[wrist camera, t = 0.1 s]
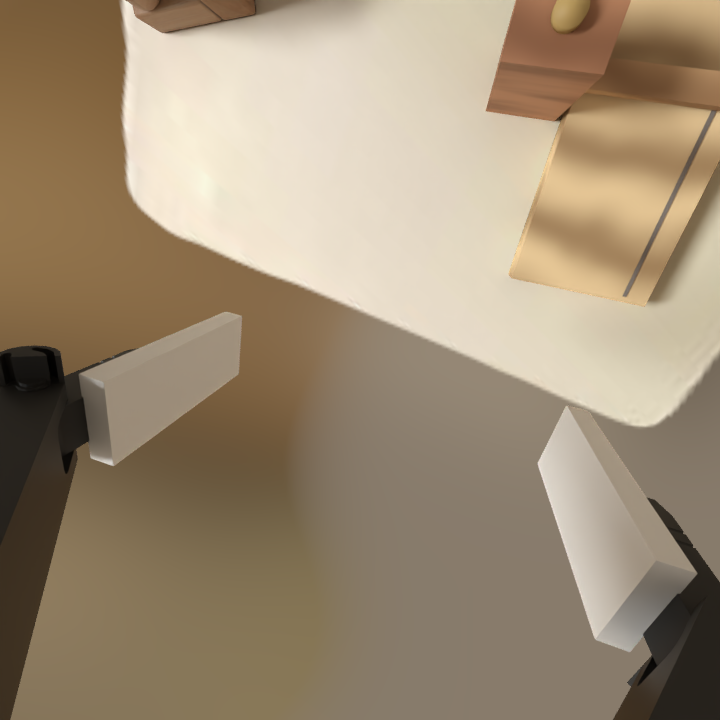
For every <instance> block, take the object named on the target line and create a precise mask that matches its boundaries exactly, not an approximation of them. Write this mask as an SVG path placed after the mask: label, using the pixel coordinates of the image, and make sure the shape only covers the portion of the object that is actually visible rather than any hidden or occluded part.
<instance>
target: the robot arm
mask: <svg viewBox="0 0 720 720" xmlns="http://www.w3.org/2000/svg"><path fill="white" fill-rule="evenodd" d="M241 324H242V316H239V315H236V314H232V313H229V312H223V313H221V314H219V315H216V316H214V317H212V318H209V319H207V320H205V321H202V322H200V323H198V324H195V325H193V326H191V327H188V328H186V329H183V330H181V331H179V332H177V333H174V334H172V335H169V336H167V337H165V338H162V339H160V340H158V341H155V342H153V343H150V344H149V345H146V346H143V347H141V348H137V349H132V350H127V351H124V352H122V353H119V354H117V355H115V356H112V358H107V359H105V360H102V361H101V363H96V364H93V365H90V366H88V367H86V368H83V369H81V370H78V371H76V372H74V373H71V374H69V375H66V376H64V372H63V366H62V360H61V353H60V351H58V350H57V349H55V348H51V347H47V346H22V347H16V348H11V349H7V350H5V351H2V352H0V720H10V718H11V715H12V711H13V707H14V703H15V699H16V695H17V691H18V687H19V684H20V679H21V676H22V672H23V668H24V664H25V660H26V657H27V653H28V649H29V645H30V641H31V637H32V633H33V629H34V626H35V622H36V618H37V614H38V610H39V606H40V602H41V598H42V595H43V591H44V586H45V583H46V579H47V575H48V572H49V568H50V564H51V560H52V556H53V552H54V548H55V544H56V540H57V536H58V533H59V529H60V525H61V521H62V517H63V514H64V510H65V506H66V502H67V498H68V494H69V490H70V487H71V483H72V479H73V474H74V471H75V467H76V463H77V451H76V449H77V448H78V447H80V446H81V445H83V444H85V443H86V442H88V443H89V449H90V456H91V458H92V459H95V460H98V461H101V462H103V463H106V464H109V465H112V466H114V465H116V464H117V463H118V462H120V461H121V460H122V459H124V458H125V457H127V456H128V455H129V454H131V453H132V452H133V451H135V450H136V449H137V448H139V447H140V446H142V445H143V444H144V443H146V442H147V441H148V440H150V439H151V438H152V437H154V436H155V435H156V434H158V433H159V432H160V431H162V430H163V429H164V428H166V427H167V426H169V425H170V424H171V423H173V422H174V421H175V420H177V419H178V418H179V417H181V416H182V415H184V414H185V413H186V412H188V411H189V410H190V409H192V408H193V407H194V406H196V405H197V404H199V403H200V402H201V401H202V400H204V399H205V398H207V397H208V396H209V395H211V394H212V393H213V392H215V391H216V390H218V389H219V388H220V387H222V386H223V385H224V384H225V383H227V382H228V381H230V380H231V379H232V378H234V377H235V376H237V375H238V374H239V359H240V342H241ZM538 466H539V469H540V473H541V476H542V479H543V482H544V485H545V488H546V491H547V494H548V497H549V500H550V503H551V506H552V509H553V512H554V515H555V518H556V521H557V524H558V528H559V531H560V534H561V537H562V540H563V543H564V546H565V549H566V552H567V555H568V558H569V561H570V564H571V568H572V571H573V574H574V577H575V579H576V583H577V585H578V589H579V592H580V595H581V598H582V601H583V604H584V607H585V610H586V613H587V617H588V620H589V622H590V626H591V629H592V632H593V635H594V638H595V640H598V641H600V642H603V643H606V644H609V645H612V646H614V647H617V648H620V649H623V650H625V651H628V652H630V651H631V650H632V649H633V648H634V647H635V646H636V644H637V643H638V642H639V641H640V639H642V637H643V636H644V638H645V640H646V642H647V645H648V647H649V649H650V651H651V653H652V656H651V657H650V658H649V659H648V660H647V661H646V662H645V663H644V665H643V666H642V667H641V668H640V669H639V670H638V671H637V673H636V674H635V675H634V676H633V677H632V678H631V679H630V680H629V681H628V682H627V683H628V684H629V685H630V686H631V688H630V690H629V692H628V694H627V695H626V697H625V699H624V701H623V703H622V704H621V707H620V708H619V710H618V712H617V713H616V715H615V717H614V719H613V720H720V582H719V581H718V579H717V578H716V576H715V575H714V574H713V572H712V571H711V569H710V568H709V567H708V565H707V564H706V562H705V561H704V560H703V558H702V557H701V555H700V554H699V553H698V551H697V550H696V548H693V544H692V543H691V541H690V540H689V539H688V537H687V536H686V535H685V534H683V530H682V529H681V527H680V526H679V525H678V523H677V522H676V521H675V519H674V518H673V516H672V515H671V514H670V513H669V512H667V511H666V510H665V509H664V508H663V507H662V506H661V505H660V504H659V503H658V502H656V501H655V500H653V499H650V498H647V497H646V496H645V495H644V493H643V492H642V490H641V489H640V487H639V486H638V484H637V483H636V481H635V480H634V478H633V477H632V475H631V474H630V472H629V471H628V470H627V468H626V466H625V465H624V463H623V462H622V460H621V459H620V457H619V456H618V454H617V453H616V451H615V450H614V448H613V447H612V445H611V444H610V443H609V441H608V439H607V438H606V437H605V435H604V434H603V432H602V431H601V429H600V428H599V426H598V425H597V423H596V422H595V420H594V419H593V417H592V416H591V414H590V413H589V411H586V410H583V409H579V408H575V407H572V406H568V405H567V406H566V407H565V409H564V411H563V414H562V415H561V418H560V419H559V421H558V424H557V426H556V427H555V429H554V432H553V434H552V436H551V438H550V440H549V442H548V444H547V446H546V448H545V450H544V452H543V454H542V456H541V458H540V460H539V462H538Z"/></svg>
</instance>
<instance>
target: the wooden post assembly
mask: <svg viewBox="0 0 720 720" xmlns="http://www.w3.org/2000/svg"><path fill="white" fill-rule="evenodd" d="M126 1H128V2H129V3H131V4H132V5H133V9H134V14H135V16H136V17H137V18H138V19H140V20H141V21H143V22H145V23H146V24H148V25H150V26H151V27H153V28H155V29H156V30H158V31H159V32H162V33H164V32H169V31H174V30H179V29H183V28H188V27H193V26H198V25H203V24H208V23H213V22H218V21H221V20H222V19H224V20H229V19H234V18H239V17H244V16H249V15H253V14H255V3H254V0H126Z"/></svg>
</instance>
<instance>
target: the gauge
mask: <svg viewBox="0 0 720 720" xmlns="http://www.w3.org/2000/svg"><path fill="white" fill-rule="evenodd" d="M630 2H631V0H516V2H515V5H514V9H513V13H512V16H511V20H510V23H509V27H508V31H507V34H506V38H505V41H504V45H503V49H502V52H501V56H500V60H499V64H498V67H497V71H496V75H495V79H494V82H493V86H492V90H491V94H490V97H489V101H488V105H487V109H486V111H489V112H496V113H502V114H509V115H516V116H522V117H529V118H536V119H543V120H549V121H555V120H556V119H557V118H558V117H559V116H560V115H561V114H563V113H564V112H565V111H566V110H567V109H568V108H569V107H570V106H571V105H572V104H573V103H574V102H575V101H576V100H577V99H578V98H580V97H581V96H582V95H583V94H584V93H589V94H597V95H604V96H611V97H619V98H626V99H633V100H641V101H648V102H655V103H663V104H670V105H678V106H685V107H692V108H700V109H707V110H714V111H720V71H715V70H706V69H698V68H690V67H681V66H673V65H665V64H656V63H648V62H640V61H632V60H623V59H615V58H610V57H611V54H612V51H613V48H614V46H615V43H616V40H617V37H618V35H619V32H620V29H621V26H622V24H623V21H624V18H625V16H626V13H627V10H628V7H629V5H630Z"/></svg>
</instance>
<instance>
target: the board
mask: <svg viewBox="0 0 720 720" xmlns="http://www.w3.org/2000/svg"><path fill="white" fill-rule="evenodd" d="M610 58H615V59H623V60H632V61H640V62H648V63H656V64H665V65H673V66H681V67H690V68H698V69H706V70H715V71H720V0H631V2H630V5H629V7H628V10H627V13H626V16H625V18H624V21H623V24H622V26H621V29H620V32H619V35H618V37H617V40H616V43H615V46H614V48H613V51H612V54H611V57H610ZM719 161H720V111H714V110H707V109H700V108H692V107H685V106H678V105H670V104H663V103H655V102H648V101H641V100H633V99H626V98H619V97H611V96H604V95H597V94H589V93H584V94H583V95H582V96H581V97H580V98H578V99H577V100H576V101H575V102H574V103H573V104H572V105H571V106H570V107H569V108H568V109H567V110H566V111H565V112H564V113H563V116H562V118H561V121H560V124H559V127H558V130H557V133H556V136H555V139H554V142H553V145H552V148H551V151H550V154H549V157H548V160H547V162H546V165H545V168H544V171H543V174H542V177H541V180H540V183H539V186H538V189H537V192H536V195H535V198H534V201H533V204H532V206H531V209H530V212H529V215H528V218H527V221H526V224H525V227H524V230H523V233H522V236H521V239H520V242H519V245H518V247H517V250H516V253H515V256H514V259H513V262H512V265H511V268H510V271H509V276H510V277H511V278H513V279H518V280H523V281H527V282H532V283H537V284H541V285H546V286H551V287H555V288H560V289H565V290H569V291H574V292H579V293H583V294H588V295H592V296H597V297H602V298H606V299H611V300H616V301H620V302H625V303H630V304H634V305H639V306H644V307H645V305H646V303H647V301H648V299H649V297H650V295H651V293H652V291H653V289H654V288H655V286H656V284H657V282H658V280H659V278H660V276H661V274H662V272H663V270H664V268H665V266H666V264H667V262H668V260H669V258H670V256H671V254H672V252H673V250H674V249H675V247H676V245H677V243H678V241H679V239H680V237H681V235H682V233H683V231H684V229H685V227H686V225H687V223H688V221H689V219H690V217H691V215H692V213H693V211H694V209H695V208H696V206H697V204H698V202H699V200H700V198H701V196H702V194H703V192H704V190H705V188H706V186H707V184H708V182H709V180H710V178H711V176H712V174H713V172H714V170H715V169H716V167H717V165H718V163H719Z"/></svg>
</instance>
